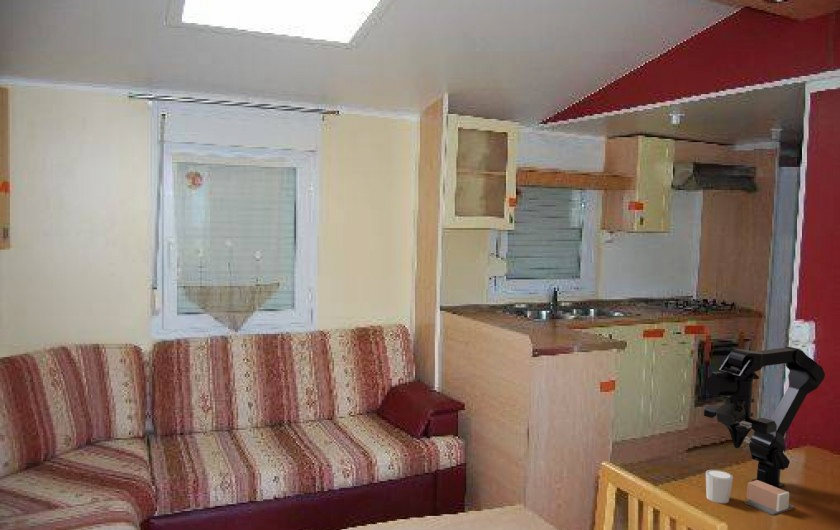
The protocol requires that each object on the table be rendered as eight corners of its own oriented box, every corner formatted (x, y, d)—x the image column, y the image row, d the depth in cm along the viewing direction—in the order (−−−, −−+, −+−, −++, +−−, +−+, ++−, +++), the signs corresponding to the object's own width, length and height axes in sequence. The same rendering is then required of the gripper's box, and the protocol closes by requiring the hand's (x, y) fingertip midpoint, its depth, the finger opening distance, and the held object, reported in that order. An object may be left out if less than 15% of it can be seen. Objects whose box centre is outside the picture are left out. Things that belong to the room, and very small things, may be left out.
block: (757, 479, 178) (789, 492, 170) (756, 495, 178) (788, 508, 170) (747, 482, 176) (779, 495, 168) (746, 498, 176) (778, 511, 168)
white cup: (715, 505, 172) (717, 480, 171) (698, 494, 178) (700, 470, 178) (737, 503, 173) (738, 478, 173) (719, 492, 180) (720, 468, 180)
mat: (765, 496, 178) (766, 495, 178) (794, 508, 172) (794, 506, 172) (743, 503, 174) (743, 501, 174) (772, 515, 167) (772, 513, 167)
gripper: (693, 389, 185) (690, 442, 186) (757, 406, 169) (753, 464, 170) (716, 385, 191) (712, 436, 192) (779, 401, 175) (775, 456, 176)
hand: (736, 447), depth 182 cm, fingers closed
